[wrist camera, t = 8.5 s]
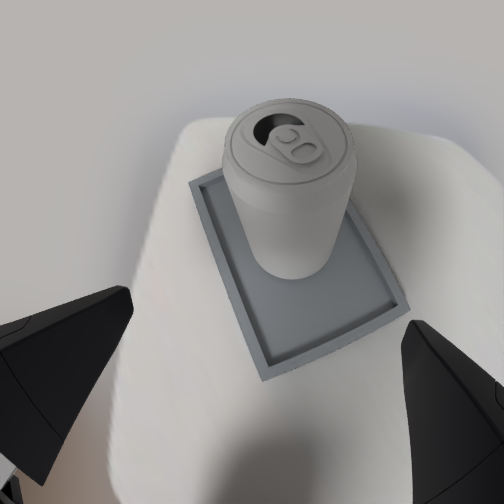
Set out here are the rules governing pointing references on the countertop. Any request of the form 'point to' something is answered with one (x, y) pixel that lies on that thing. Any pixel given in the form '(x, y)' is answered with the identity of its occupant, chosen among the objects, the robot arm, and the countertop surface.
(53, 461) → the robot arm
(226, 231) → the tray
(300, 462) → the countertop surface
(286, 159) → the beverage can
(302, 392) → the countertop surface
